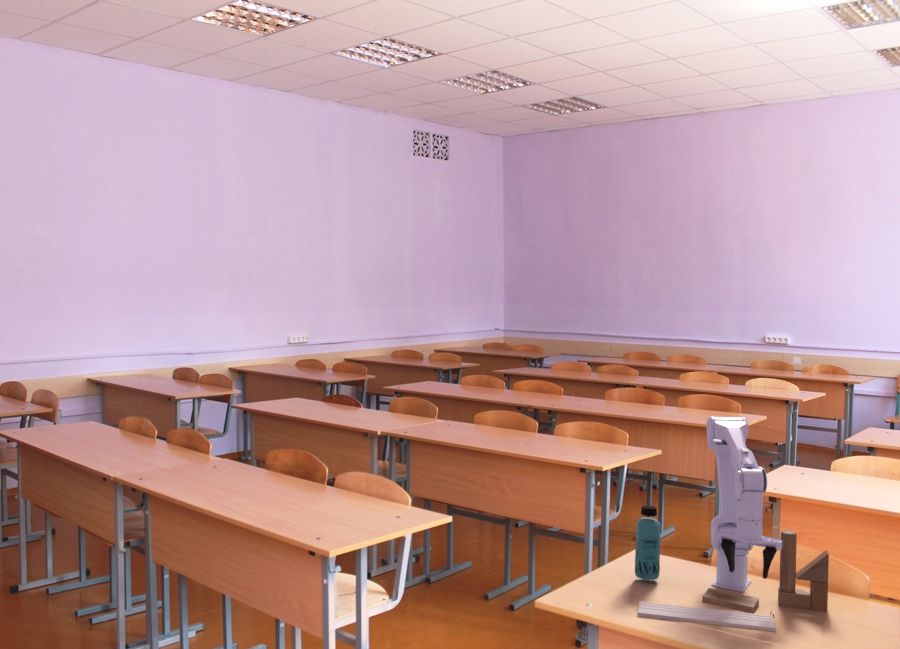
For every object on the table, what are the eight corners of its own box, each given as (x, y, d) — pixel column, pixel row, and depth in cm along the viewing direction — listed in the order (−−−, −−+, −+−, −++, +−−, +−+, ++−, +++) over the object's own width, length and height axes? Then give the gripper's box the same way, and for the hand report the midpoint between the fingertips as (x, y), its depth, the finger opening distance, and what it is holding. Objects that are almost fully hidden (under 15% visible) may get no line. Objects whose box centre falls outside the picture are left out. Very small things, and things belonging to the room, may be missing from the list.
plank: (708, 593, 197) (708, 587, 197) (758, 604, 190) (759, 598, 190) (702, 602, 192) (702, 596, 192) (753, 613, 185) (753, 607, 185)
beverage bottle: (629, 578, 208) (631, 504, 207) (651, 576, 210) (652, 502, 209) (642, 587, 202) (644, 510, 201) (665, 584, 203) (666, 508, 203)
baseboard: (639, 603, 192) (637, 618, 183) (639, 591, 192) (638, 606, 183) (770, 617, 184) (776, 634, 175) (770, 605, 184) (776, 622, 175)
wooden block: (827, 612, 186) (829, 538, 186) (778, 606, 190) (780, 533, 189) (825, 607, 190) (827, 533, 189) (777, 601, 193) (779, 529, 193)
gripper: (714, 516, 188) (713, 572, 188) (778, 527, 180) (777, 585, 180) (722, 510, 194) (720, 564, 194) (784, 520, 186) (783, 576, 186)
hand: (748, 574), depth 187 cm, fingers open, 7 cm apart
